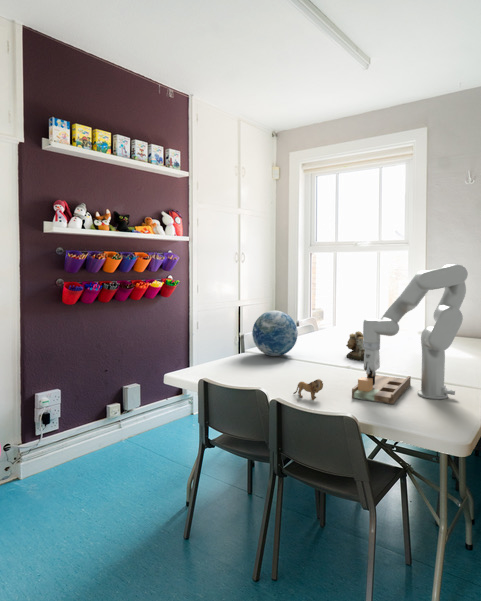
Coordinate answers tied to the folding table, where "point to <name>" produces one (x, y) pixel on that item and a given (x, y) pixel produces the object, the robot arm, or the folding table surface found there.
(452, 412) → the folding table surface
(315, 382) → the lion figurine
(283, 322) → the globe
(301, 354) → the folding table surface
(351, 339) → the brown lumpy sculpture
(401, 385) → the box
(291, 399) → the folding table surface
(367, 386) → the block
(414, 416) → the folding table surface
